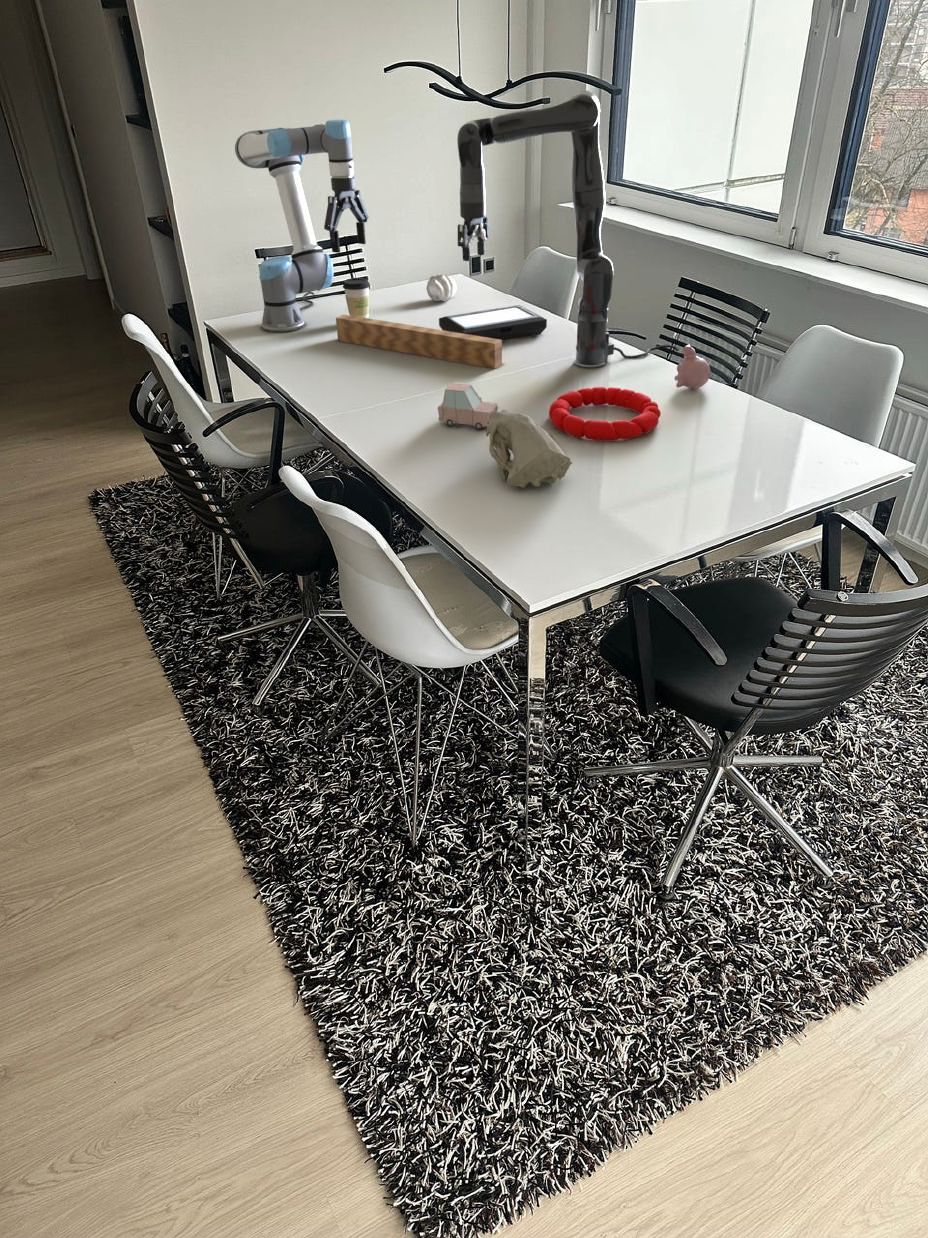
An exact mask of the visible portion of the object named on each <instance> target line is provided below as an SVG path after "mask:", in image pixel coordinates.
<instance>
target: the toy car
mask: <svg viewBox="0 0 928 1238" xmlns="http://www.w3.org/2000/svg"><path fill="white" fill-rule="evenodd" d="M498 409H499V404H498V403H497V402H490V401H489V402H487V401H483V397H481V396H480V395H479V394H478V393H477V391H476V390H475V389H474V386H472V384H469V383H459V382H451V383H450V384H449V385H448V386H447V387H446V388H445V389H444V394H443V399H442V403H440V404H439V405H438V406H437V413H438V421H439V422H443V423H446V425H447V426H448V427H452V426H454V425H455V424H461V425H469V426H473V427H475V429H476V430H479V431H480V430H481V429H483V428H485V427H486V428H487V423H488V422H490V414H491V413H492V412H496V411H499V410H498Z"/></svg>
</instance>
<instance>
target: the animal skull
mask: <svg viewBox="0 0 928 1238" xmlns="http://www.w3.org/2000/svg"><path fill="white" fill-rule="evenodd" d="M485 436H486V438H487V437H489V438H488V440H489V444H488V445H489V446H488V450H489V454H490V456H491V457H492V458H493V459H494V460H495V462H496V464H497V466H499V468H500V470H501V471H502V472H501V478H502V479H507V480H506V484H507V486H517V487H518V486H519V488H523V489H524V488H526V486H527V485H529V483H531V485H533V486H534V487H536V488H540V485H541V484H542V482H544V483H549V484H550V485H553V484H555V483H556V482H557V480H561V479H563V478H565V476H566V474H567V472H568V471H569V469H570V467H571V466H572V464H573V462H572V461H571V458H570V457H568V456H567V455H565V453H564V451H562V449H561V448H560V446H559V444H557V443H556V439H555V438H554V436H553V435H551V434H550V433H548V432H547V431H546V430H545V429H544V428H542V427H541V426H539V425H538V424H537V423H536V424H535V422H534V421H533V419H532V418H531V417H530V416H529V415H527V414H524V413H519V412H515V411H509V410H507V409H502V410H500V411H499V410H497V411H496V412H492V413H491V414H490V422H488V423H487V427H486V435H485ZM511 453H512V454H511ZM511 455H512V457H513V458H512V460H511ZM507 474H508V475H507Z"/></svg>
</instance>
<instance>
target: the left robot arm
mask: <svg viewBox="0 0 928 1238" xmlns="http://www.w3.org/2000/svg"><path fill="white" fill-rule="evenodd" d="M350 125H351V124H350V122H349V121H348V120H347V119H329V120H326V121H325V124H322V123H320V124H314V125H313V126H303V127H295V128H291V127H277V128H268V129H259V130H258V129H257V130H250V131H247V132H244V133H243V134H241V135H240V136H239V137H238V138H237V139H236V141H235V143H234V153H235V156H236V158H237V160H238V161H239V162H240V163H241V164H242V165H243V166H246V167H248V168H251V169H268V173H269V176H271V177H272V178H274V179H275V183H276V187H277V191H278V194H279V199H280V202H281V206H282V210H283V214H284V218H285V222H286V226H287V229H288V233H289V236H290V237H289V238H290V241H291V245H292V249H293V250H292V253H291V254H290V256H288V255H280V256H273V257H270V258H266V259H265V260H263V261H262V262H261V263H260V265H259V266H258V270H259V271H258V273H259V281H260V287H261V292H262V299H263V313H262V319H261V326H262V330H264V331H265V332H271V333H286V332H293V331H296V330H297V331H298V330H300V329H302V328H304V326H305V319H304V317H303V314H302V312H301V311H303V310H305V309H307V308H310V307H312V306H313V305H314V302H313V301H312V300H309V299H306V297H307V296H308V295H312V296H315V293H314V292H316V291H317V292H320V291H322V290H326V289H328V288H330V287H331V286H332V284H333V280H334V273H335V272H334V264H333V260H332V259H331V257H330V255H329V254H327V253H325V252H324V249H323V248H322V246H319V244H318V242H317V239H316V235H315V232H314V227H313V222H312V219H311V215H310V212H309V206H308V204H307V199H306V196H305V191H304V187H303V184H302V180H301V176H300V172H301V171H302V168H303V167H302V164H303V163H304V161H305V156H306V155H316V154H324V153H325V154H327V155H328V167H329V175H330V185H331V190H332V191H333V192H334V194H333V195H334V196H332V195H328V196H327V207H326V214H325V219H324V224H323V225H324V226H323V229H324V230H326V231H328V233H329V240H330V243H331V244H330V245H331V252H332V253H336V254H340V253H341V245H340V235H339V230H337V228H338V227H339V224H340V223H339V222H340V220H341V217H342V215H343V212H344V211H345V210H348V209H349V210H350V212H351V213H352V214H353V216H354V218H355V219H356V221H357V222H355V226H356V236H357V244H359V245H366V244H367V241H366V224H365V223H368V220H369V217H370V216H369V214H368V212H367V209H366V206H365V203H364V200H363V198H362V195H361V194H362V193H361V190H360V189H356V178H355V176H354V174H355V170H354V158H353V157H354V155H353V144H352V143H353V142H352V132H351V126H350ZM300 294H303V296H302V298H301V300H302V301H303V302H305V303H309V304H307V305H304V306H302V307H299V306H298V305H299V304H298V303H297V295H300Z"/></svg>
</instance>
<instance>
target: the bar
mask: <svg viewBox="0 0 928 1238" xmlns="http://www.w3.org/2000/svg"><path fill="white" fill-rule="evenodd" d="M335 324H336V326H335V327H336V334H337V341H338V342H342V343H347V344H348V343H349V344H354V345H359V346H366V347H372V348H376V349H377V348H378V349H382V350H387V351H394V352H399V353H404V354H405V353H406V354H411V355H416V356H421V357H422V356H423V357H428V358H433V359H439V360H443V361H444V360H445V361H450V362H455V363H461V364H467V365H472V366H477V367H478V366H479V367H484V368H489V369H494V370H495V369H497V368H498V367H500V366H502V365H503V341H502V340H500V339H494V338H487V337H481V336H475V335H469V334H462V333H456V332H450V331H444V330H442V329H438V328H430V327H424V326H418V325H412V324H405V323H401V322H400V323H399V322H394V321H387V320H381V319H375V318H369V317H368V318H363V317H356V316H350V314H341V315H340V316H336V317H335Z"/></svg>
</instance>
